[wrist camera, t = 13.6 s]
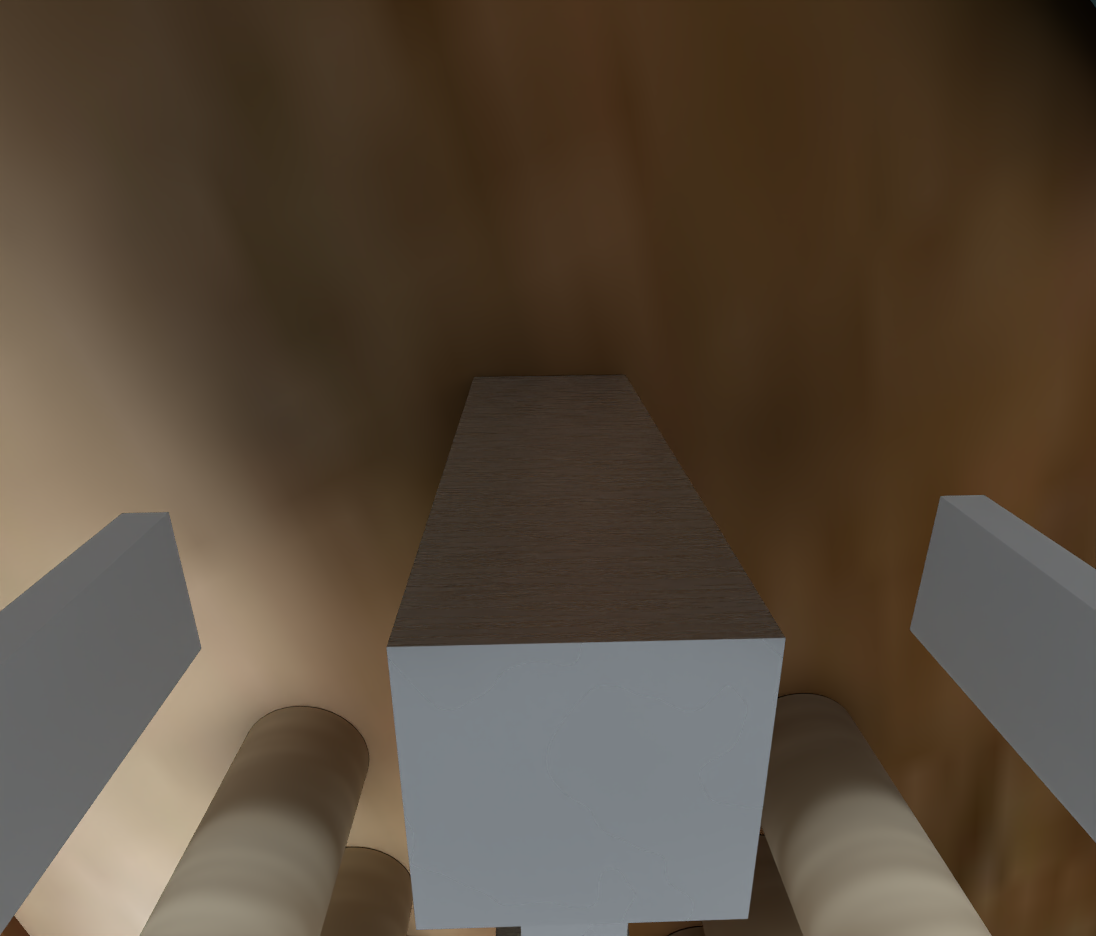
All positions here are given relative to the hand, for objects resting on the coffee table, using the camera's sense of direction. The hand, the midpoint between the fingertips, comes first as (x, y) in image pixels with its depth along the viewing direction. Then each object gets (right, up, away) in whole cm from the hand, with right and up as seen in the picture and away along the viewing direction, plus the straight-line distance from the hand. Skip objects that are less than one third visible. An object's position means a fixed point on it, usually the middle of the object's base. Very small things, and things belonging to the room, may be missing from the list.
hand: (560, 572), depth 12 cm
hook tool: (0, -2, +8) cm, 9 cm away
